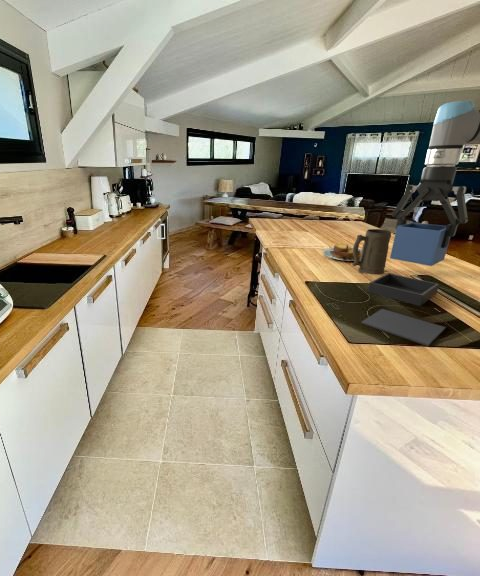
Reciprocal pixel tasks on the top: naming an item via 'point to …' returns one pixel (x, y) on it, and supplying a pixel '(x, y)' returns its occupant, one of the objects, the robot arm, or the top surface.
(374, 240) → the beer stein
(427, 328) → the mat
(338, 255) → the food on plate
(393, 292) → the charcoal bin
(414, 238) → the blue bin
